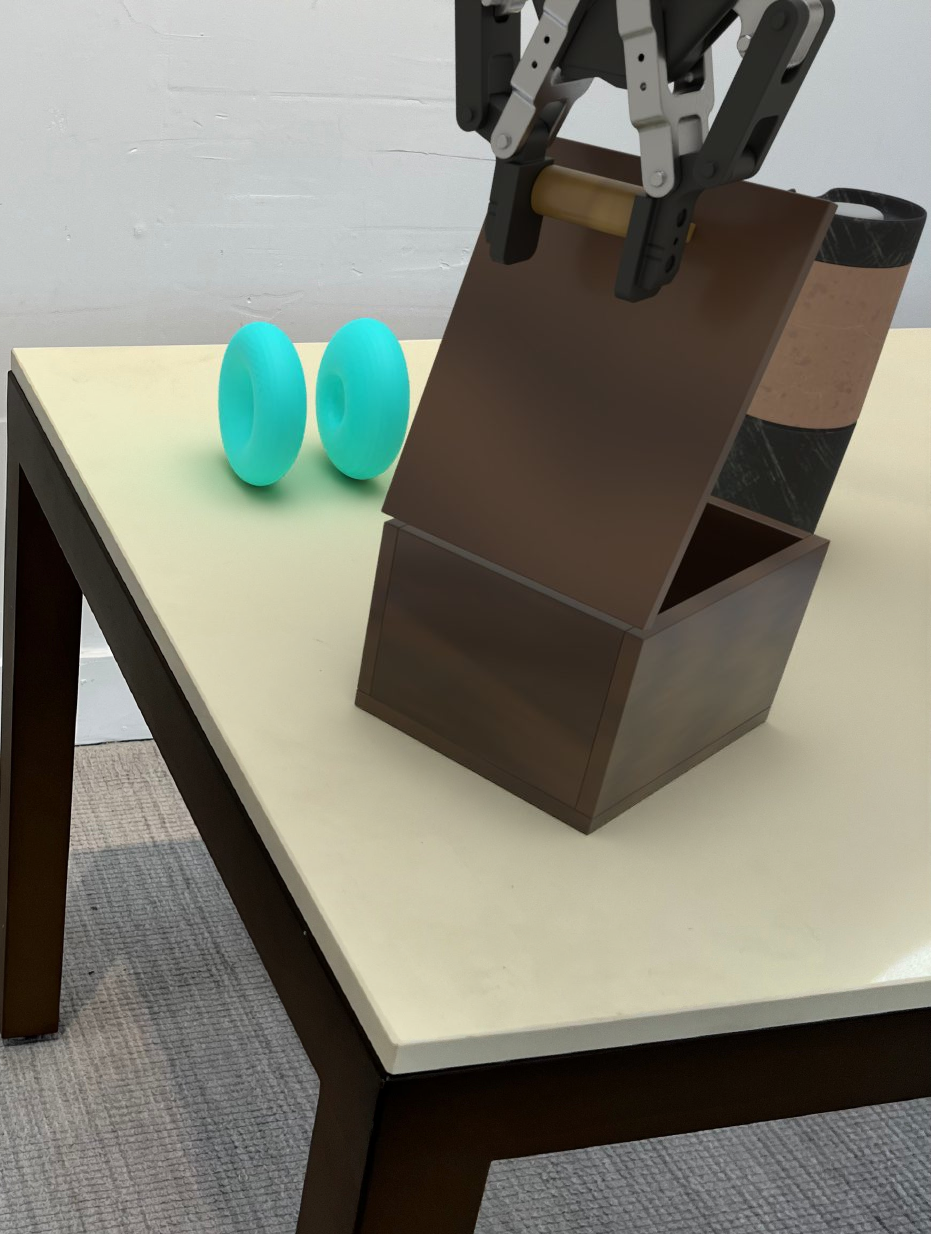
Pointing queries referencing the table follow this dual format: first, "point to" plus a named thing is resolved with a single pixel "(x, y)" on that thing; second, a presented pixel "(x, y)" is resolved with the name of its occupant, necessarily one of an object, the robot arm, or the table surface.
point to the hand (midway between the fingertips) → (571, 275)
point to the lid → (601, 383)
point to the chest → (585, 662)
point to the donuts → (345, 401)
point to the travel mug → (823, 361)
